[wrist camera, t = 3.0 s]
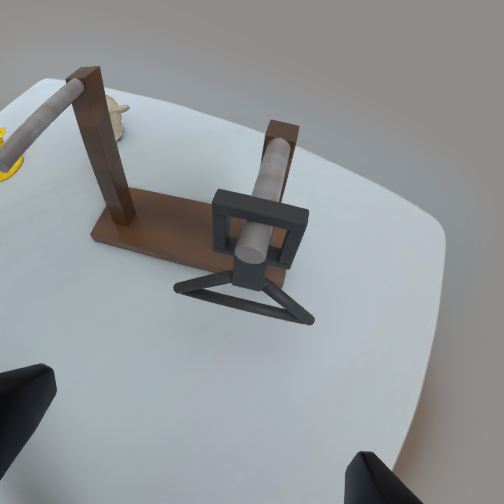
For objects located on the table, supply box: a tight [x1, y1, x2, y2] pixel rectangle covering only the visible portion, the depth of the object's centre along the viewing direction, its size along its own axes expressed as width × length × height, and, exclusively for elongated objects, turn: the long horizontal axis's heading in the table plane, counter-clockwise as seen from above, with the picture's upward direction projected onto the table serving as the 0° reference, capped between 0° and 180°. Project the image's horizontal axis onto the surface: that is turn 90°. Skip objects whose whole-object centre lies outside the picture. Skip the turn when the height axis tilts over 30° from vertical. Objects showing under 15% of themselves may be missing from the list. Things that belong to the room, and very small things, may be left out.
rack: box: [0, 66, 299, 289], centre depth 18 cm, size 11×17×15 cm, turn 78°
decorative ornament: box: [105, 95, 130, 141], centre depth 31 cm, size 4×8×5 cm, turn 51°
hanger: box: [173, 189, 315, 325], centre depth 16 cm, size 9×1×10 cm, turn 77°
